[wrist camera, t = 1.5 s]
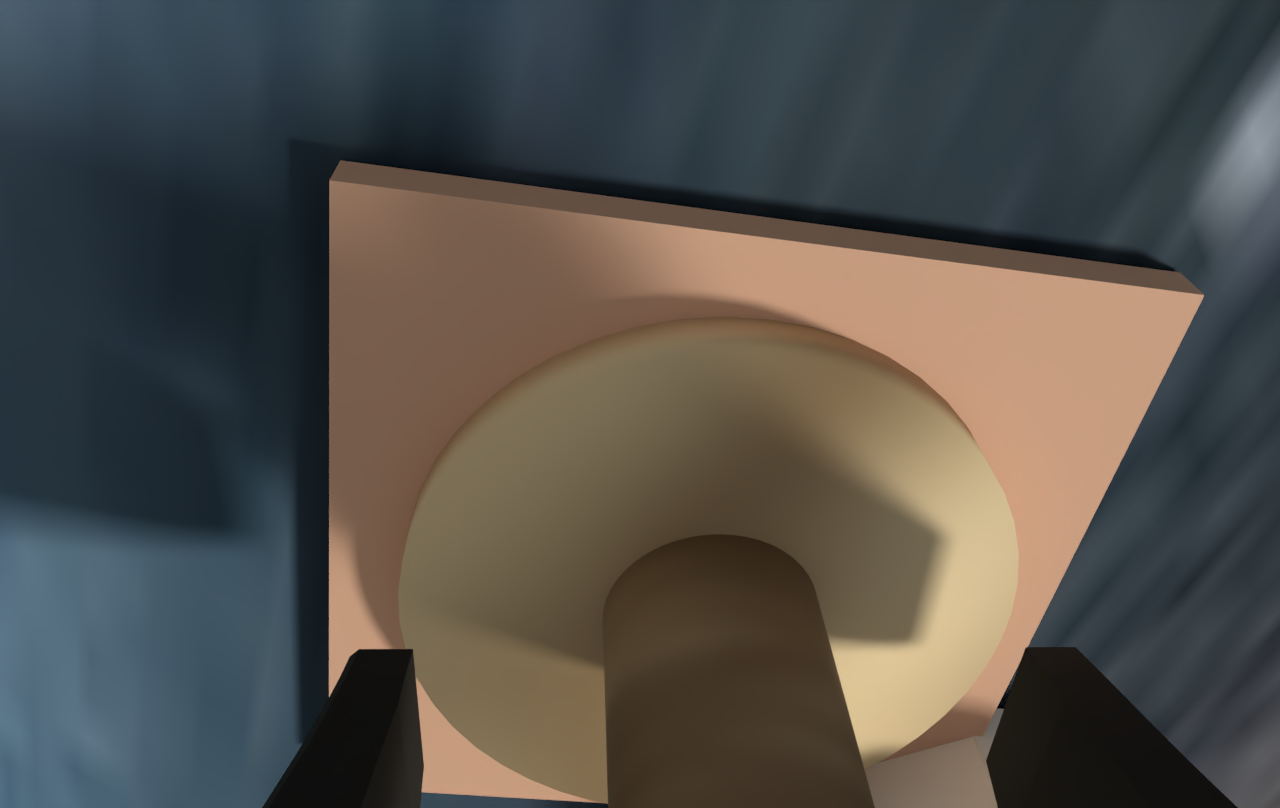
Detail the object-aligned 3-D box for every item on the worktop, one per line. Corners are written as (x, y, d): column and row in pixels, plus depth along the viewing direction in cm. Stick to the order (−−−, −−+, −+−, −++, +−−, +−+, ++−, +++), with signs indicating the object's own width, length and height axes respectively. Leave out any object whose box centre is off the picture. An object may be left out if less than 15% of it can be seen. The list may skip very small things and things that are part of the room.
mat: (1179, 272, 13) (1204, 295, 12) (929, 792, 18) (938, 823, 18) (340, 159, 12) (329, 180, 11) (336, 754, 17) (328, 786, 16)
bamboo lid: (1090, 356, 13) (1299, 614, 9) (900, 781, 17) (989, 1075, 13) (420, 277, 12) (348, 532, 8) (397, 749, 16) (341, 1059, 12)
